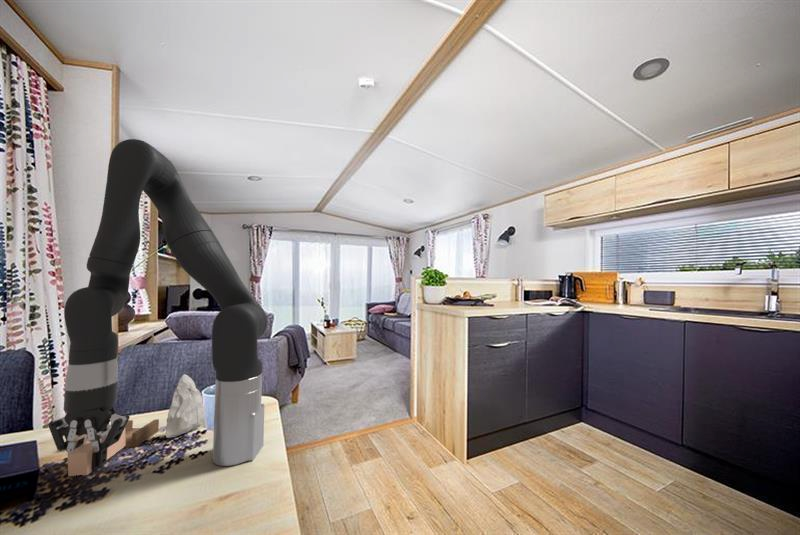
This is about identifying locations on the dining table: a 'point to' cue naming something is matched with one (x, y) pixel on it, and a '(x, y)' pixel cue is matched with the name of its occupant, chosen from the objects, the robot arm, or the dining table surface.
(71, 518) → the dining table surface
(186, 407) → the stone tool
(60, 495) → the dining table surface
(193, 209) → the robot arm
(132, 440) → the rack
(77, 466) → the pink rectangular block
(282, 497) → the dining table surface
